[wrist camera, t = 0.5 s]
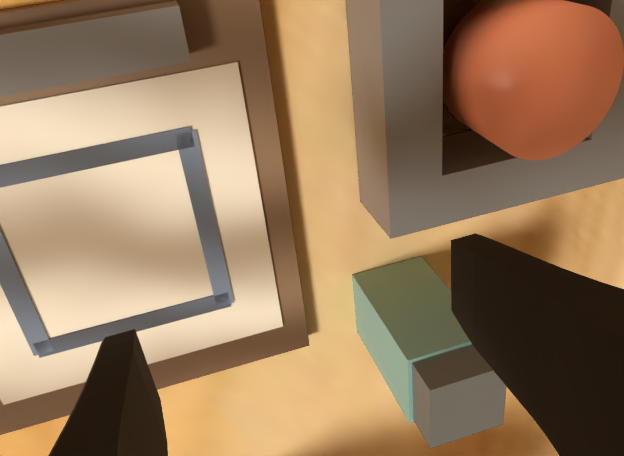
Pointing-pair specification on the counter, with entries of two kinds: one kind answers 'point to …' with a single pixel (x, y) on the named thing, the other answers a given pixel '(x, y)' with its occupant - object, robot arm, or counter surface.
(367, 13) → the button housing
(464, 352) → the block
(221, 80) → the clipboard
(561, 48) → the button
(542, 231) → the counter surface
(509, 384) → the robot arm
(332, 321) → the counter surface
